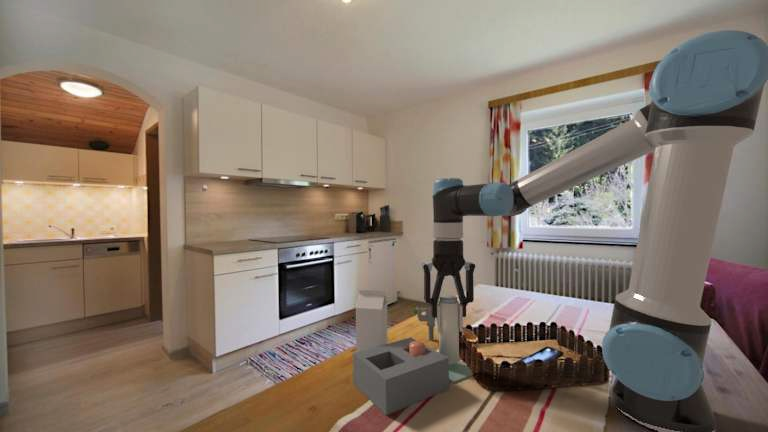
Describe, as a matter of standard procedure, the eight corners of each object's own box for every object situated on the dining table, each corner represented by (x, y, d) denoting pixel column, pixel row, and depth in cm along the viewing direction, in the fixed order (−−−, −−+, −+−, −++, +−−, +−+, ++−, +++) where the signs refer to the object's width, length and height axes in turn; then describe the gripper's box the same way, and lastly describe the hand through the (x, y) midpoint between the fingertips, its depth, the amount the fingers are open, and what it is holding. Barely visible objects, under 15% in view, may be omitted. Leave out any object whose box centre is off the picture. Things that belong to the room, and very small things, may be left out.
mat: (479, 372, 77) (479, 370, 77) (453, 383, 72) (453, 381, 72) (445, 354, 87) (445, 352, 87) (420, 362, 82) (420, 361, 82)
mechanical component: (448, 341, 95) (448, 309, 95) (415, 341, 96) (414, 309, 96) (446, 337, 98) (446, 306, 98) (414, 337, 98) (414, 306, 98)
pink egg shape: (427, 376, 73) (427, 345, 73) (416, 381, 71) (415, 348, 71) (418, 370, 76) (418, 339, 76) (406, 374, 74) (406, 343, 74)
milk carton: (382, 367, 80) (381, 293, 80) (356, 364, 81) (355, 292, 81) (387, 355, 87) (387, 287, 87) (363, 353, 88) (362, 286, 88)
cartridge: (455, 354, 82) (455, 294, 82) (461, 364, 77) (460, 299, 77) (437, 355, 82) (436, 295, 82) (441, 364, 77) (441, 300, 77)
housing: (449, 388, 69) (448, 357, 69) (385, 415, 60) (385, 379, 60) (410, 363, 81) (410, 337, 81) (353, 383, 72) (352, 353, 72)
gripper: (477, 237, 83) (478, 323, 83) (411, 238, 82) (411, 325, 82) (488, 239, 76) (488, 334, 76) (415, 240, 75) (416, 336, 75)
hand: (448, 329), depth 79 cm, fingers closed on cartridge, 5 cm apart
